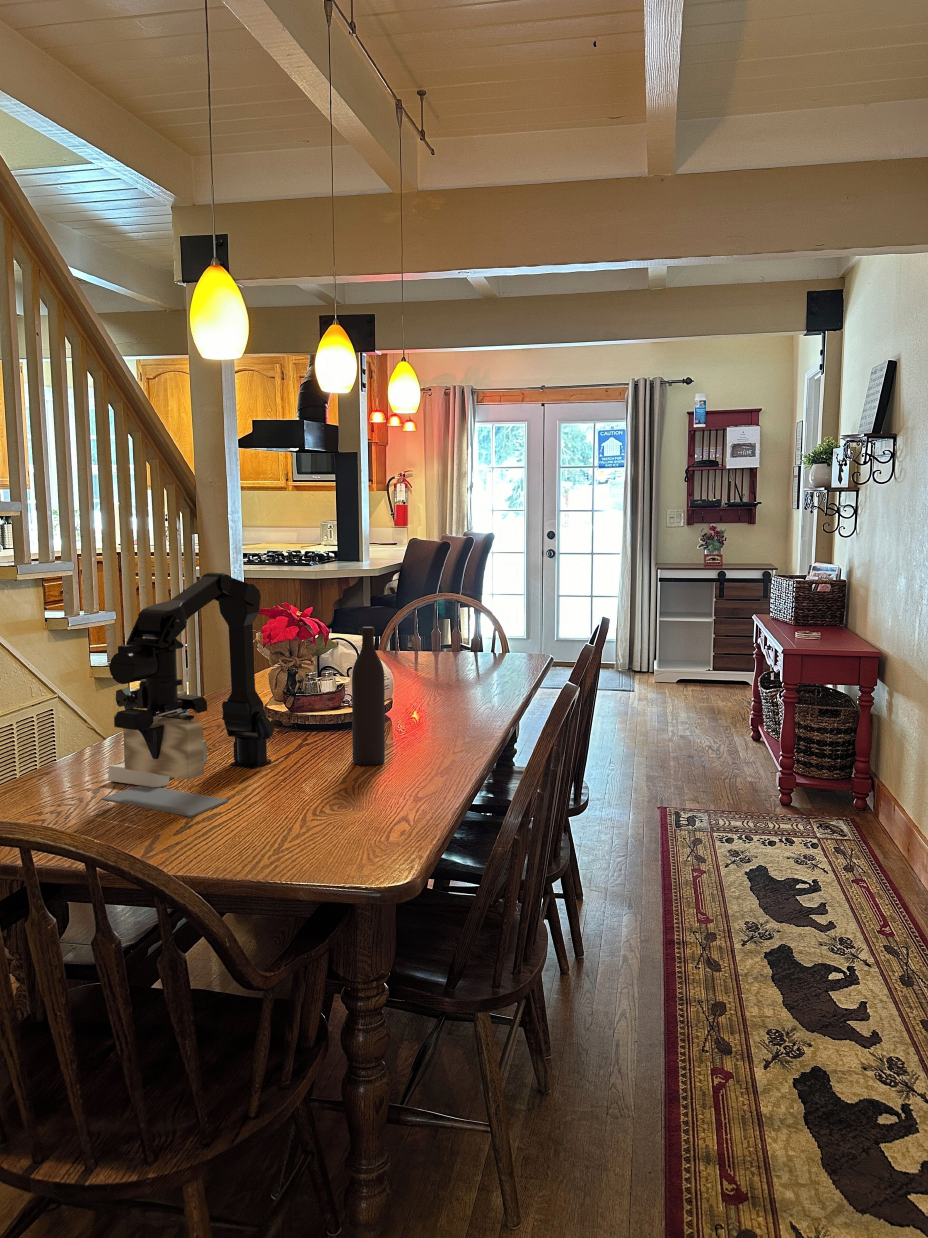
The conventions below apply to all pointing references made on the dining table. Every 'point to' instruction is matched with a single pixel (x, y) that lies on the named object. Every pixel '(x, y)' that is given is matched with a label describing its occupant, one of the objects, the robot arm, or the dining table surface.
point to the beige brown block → (168, 750)
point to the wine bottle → (368, 704)
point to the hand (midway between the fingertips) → (163, 756)
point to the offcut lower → (136, 777)
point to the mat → (166, 800)
